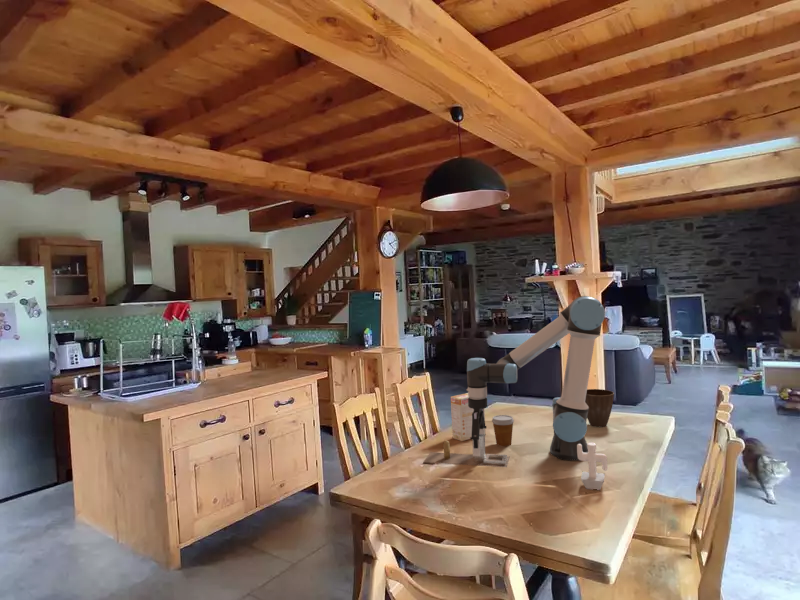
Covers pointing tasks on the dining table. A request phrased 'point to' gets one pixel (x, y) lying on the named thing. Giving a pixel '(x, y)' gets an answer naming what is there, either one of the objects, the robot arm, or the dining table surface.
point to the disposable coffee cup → (503, 429)
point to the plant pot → (599, 406)
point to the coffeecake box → (461, 417)
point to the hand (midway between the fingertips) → (479, 450)
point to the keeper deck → (457, 458)
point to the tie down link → (486, 457)
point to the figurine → (592, 466)
